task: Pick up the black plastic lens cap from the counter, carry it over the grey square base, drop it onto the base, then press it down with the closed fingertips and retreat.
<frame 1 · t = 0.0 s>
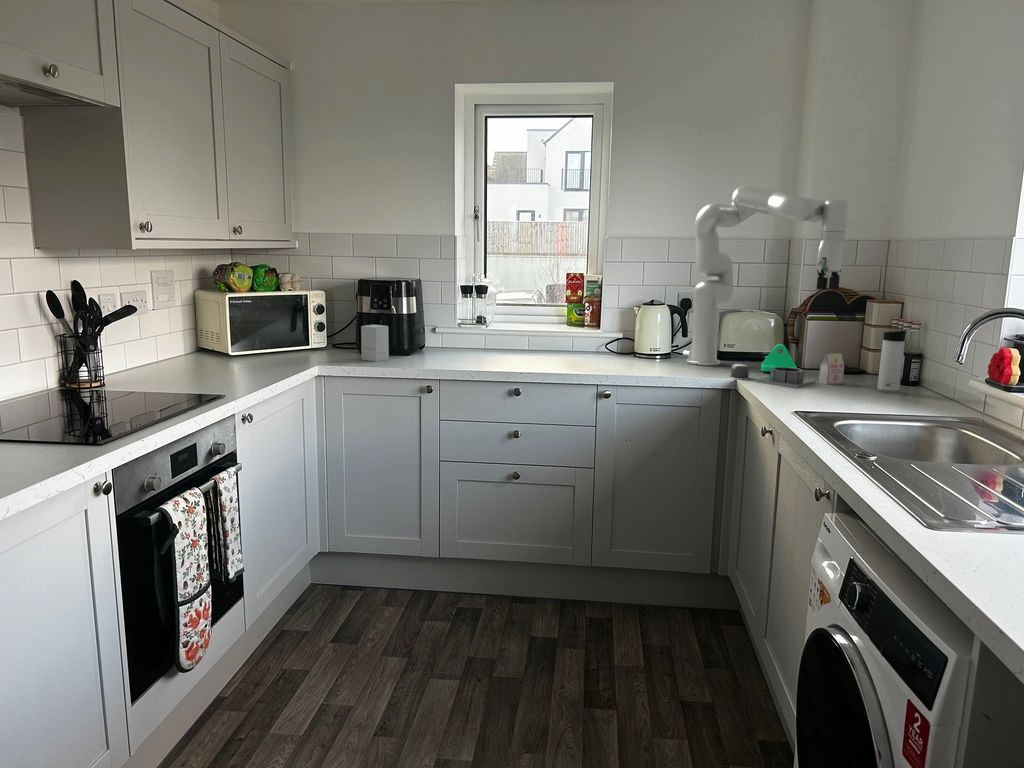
hand: (827, 289, 259), 31 cm above the worktop, tool pointing down, fingers open, 9 cm apart
green triangle piece: (778, 374, 278), on the worktop
lens cap: (739, 377, 266), on the worktop
travel mug: (888, 392, 246), on the worktop
milk carton: (830, 383, 260), on the worktop
grey square base: (786, 382, 259), on the worktop
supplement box: (375, 360, 285), on the worktop
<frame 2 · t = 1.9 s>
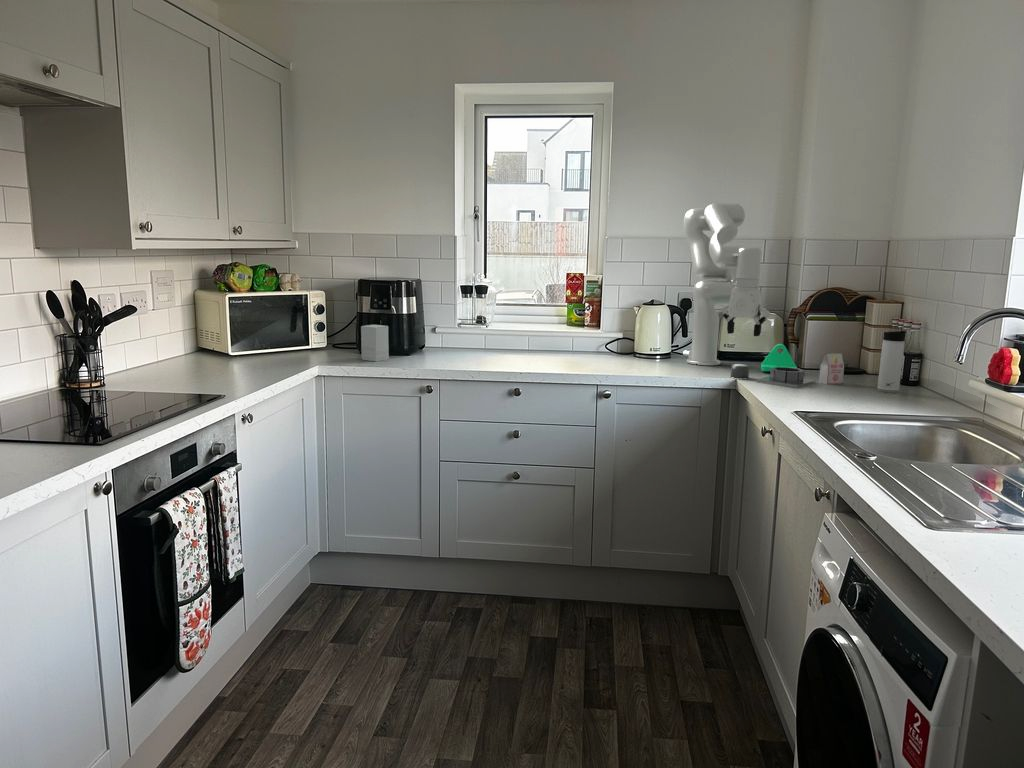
hand: (743, 334, 263), 15 cm above the worktop, tool pointing down, fingers open, 9 cm apart
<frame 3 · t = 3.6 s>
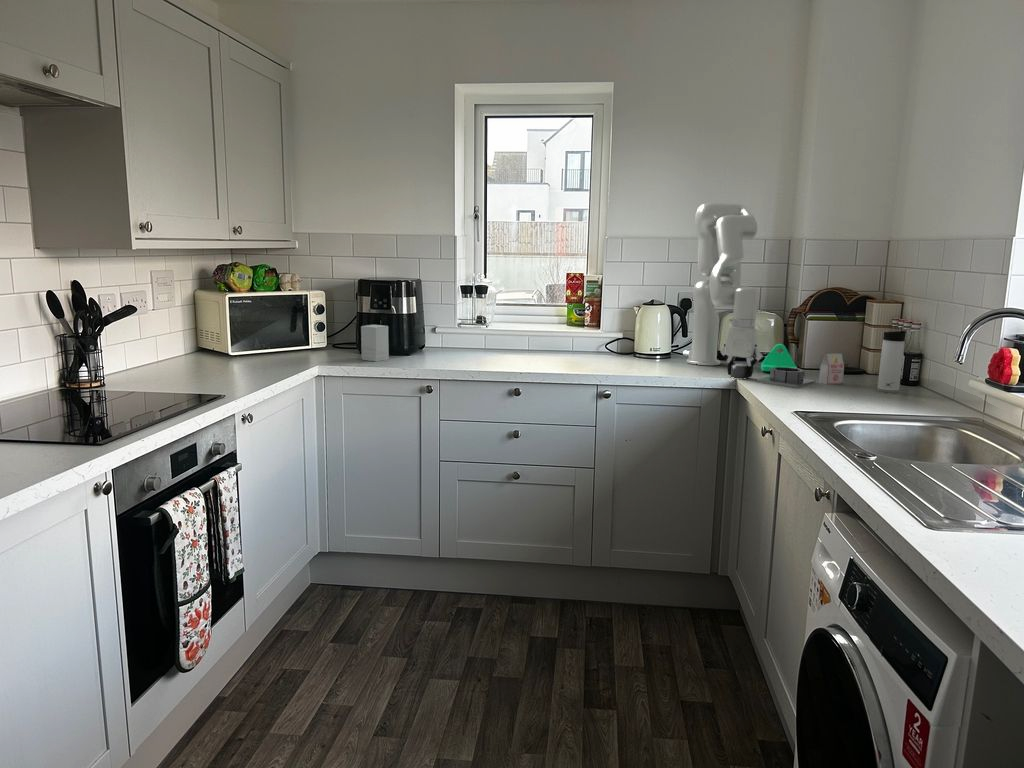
hand: (739, 375, 266), 1 cm above the worktop, tool pointing down, fingers closed on lens cap, 5 cm apart
lens cap: (739, 377, 266), on the worktop, touching gripper
everything else where it was.
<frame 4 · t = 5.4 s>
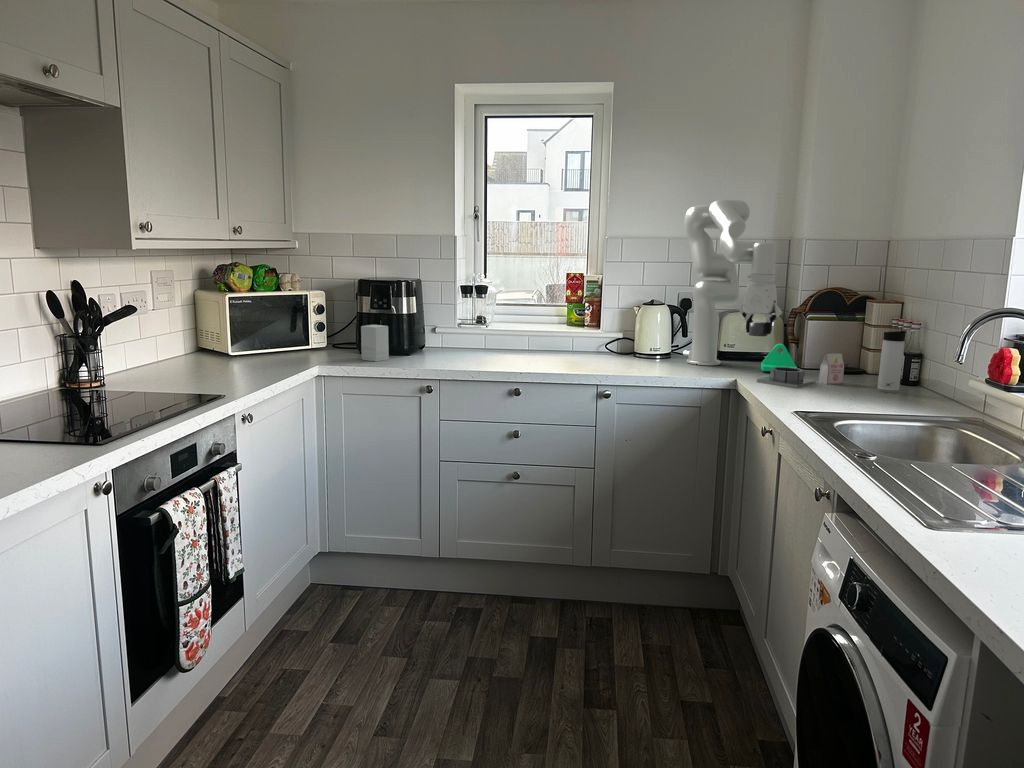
hand: (758, 332, 260), 16 cm above the worktop, tool pointing down, fingers closed on lens cap, 5 cm apart
lens cap: (758, 335, 260), point 15 cm above the worktop, touching gripper
when the fingers open (6 cm above the worktop, at t = 7.5 s): lens cap drops 4 cm, resting on grey square base.
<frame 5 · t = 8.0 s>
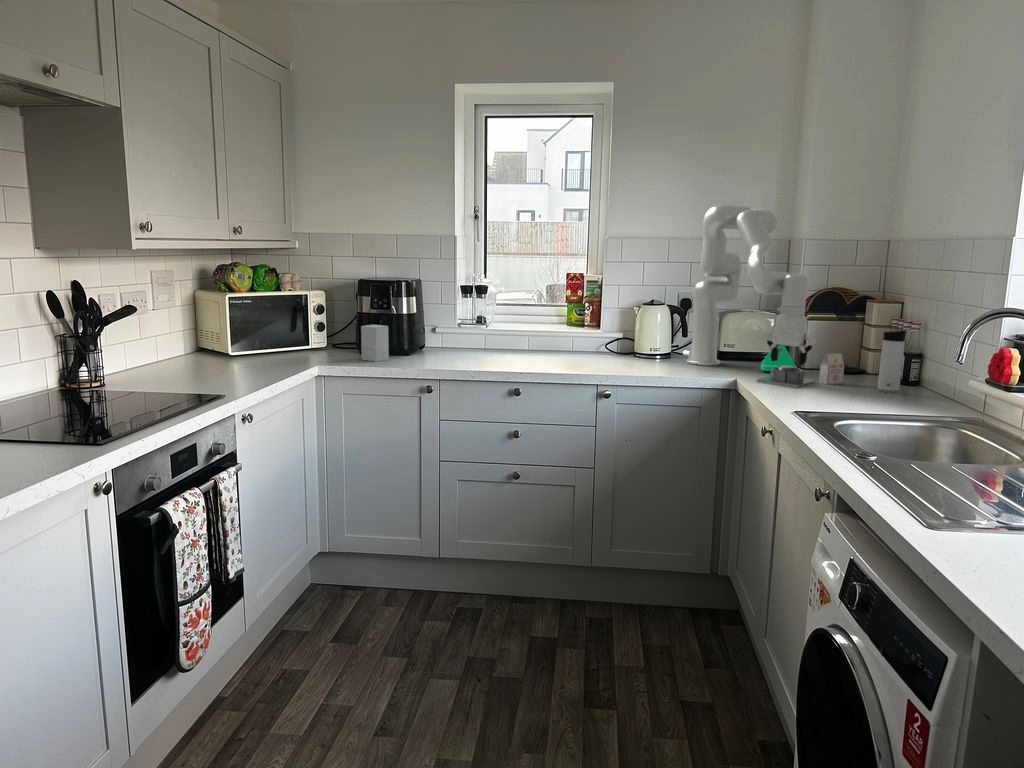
hand: (787, 362, 257), 7 cm above the worktop, tool pointing down, fingers open, 9 cm apart
lens cap: (786, 379, 258), point 1 cm above the worktop, touching grey square base
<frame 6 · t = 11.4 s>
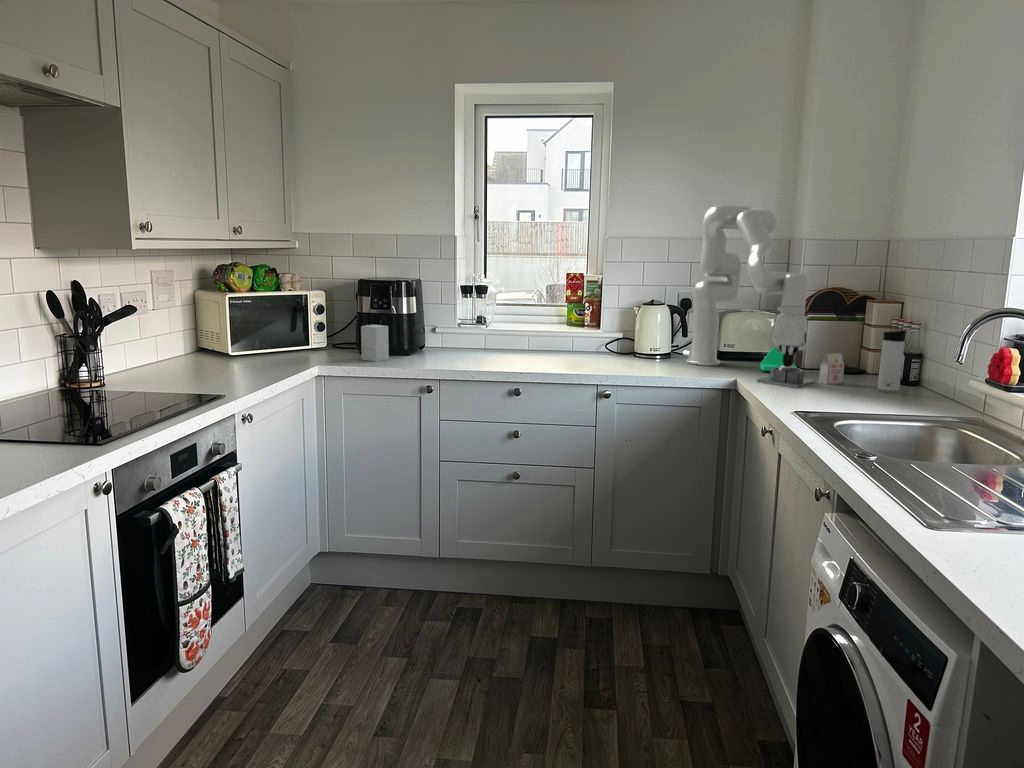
hand: (787, 365, 257), 6 cm above the worktop, tool pointing down, fingers closed
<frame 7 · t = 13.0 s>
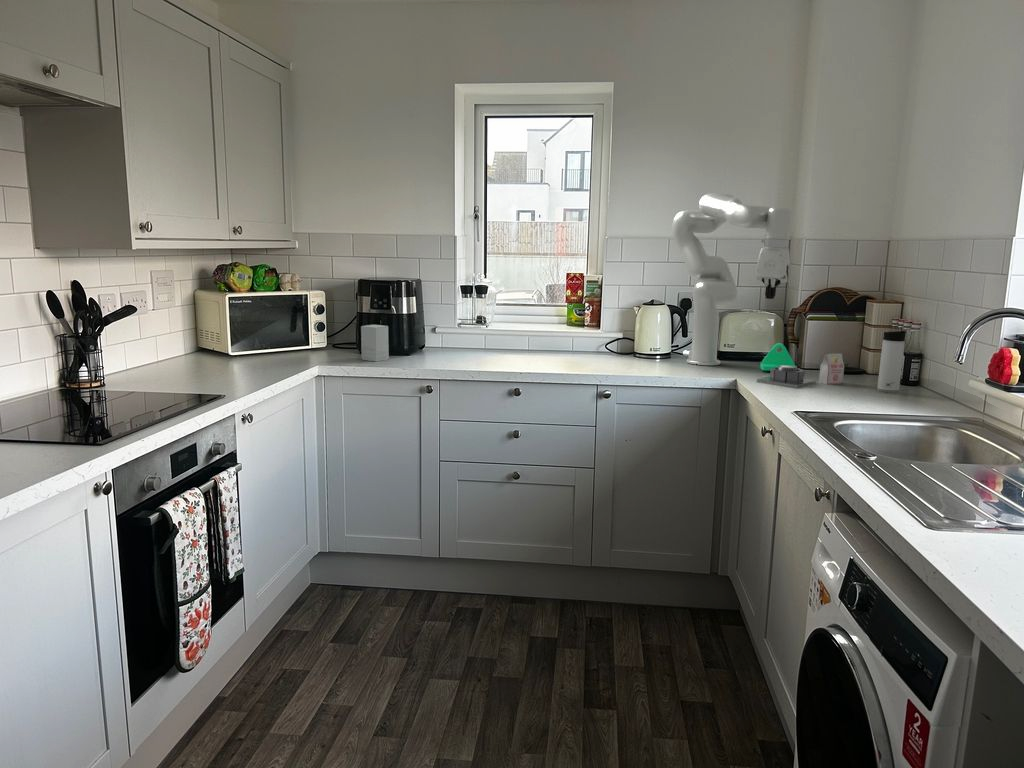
hand: (769, 298, 265), 27 cm above the worktop, tool pointing down, fingers closed
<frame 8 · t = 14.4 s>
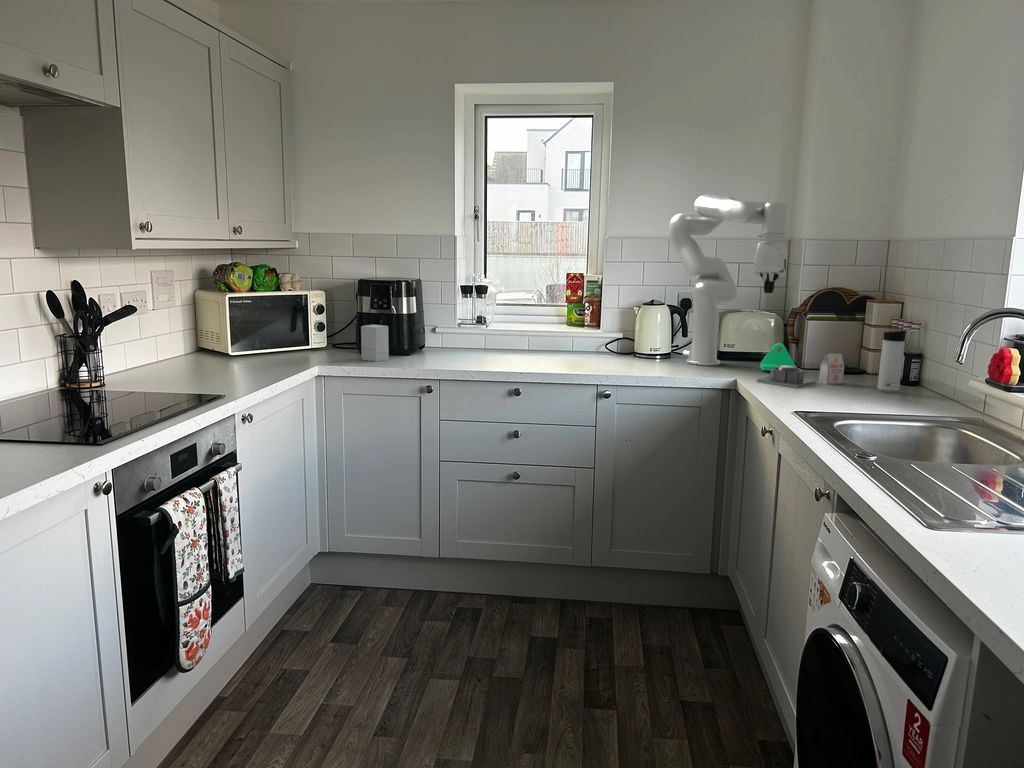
hand: (768, 292, 266), 29 cm above the worktop, tool pointing down, fingers closed
at the end: lens cap 0.0 cm off-centre on the grey square base, point 1.0 cm above the grey square base's base; lens cap tilted 0°; the gripper is holding nothing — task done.
